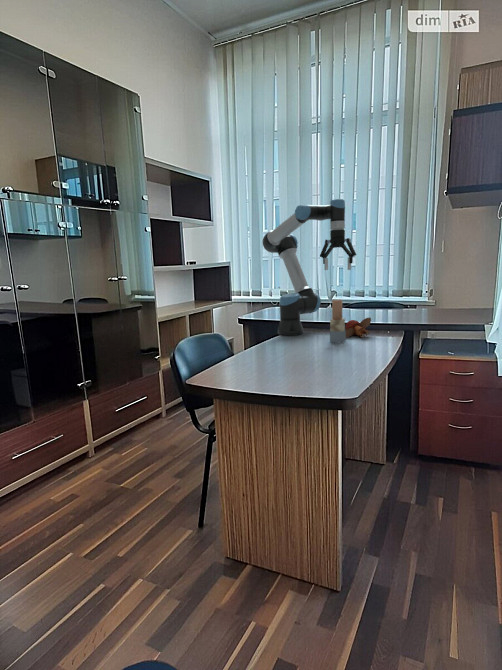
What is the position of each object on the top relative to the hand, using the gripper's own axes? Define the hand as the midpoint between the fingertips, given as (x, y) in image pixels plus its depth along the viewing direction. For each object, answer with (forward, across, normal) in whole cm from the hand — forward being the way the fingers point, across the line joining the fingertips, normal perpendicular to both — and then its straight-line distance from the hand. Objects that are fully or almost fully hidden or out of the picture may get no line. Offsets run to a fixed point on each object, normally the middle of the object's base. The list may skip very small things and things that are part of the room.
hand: (337, 270), depth 219 cm
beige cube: (+31, +6, -12) cm, 34 cm away
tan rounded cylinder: (+25, +6, -12) cm, 28 cm away
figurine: (+37, +9, +5) cm, 38 cm away
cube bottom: (+37, +6, -12) cm, 39 cm away
